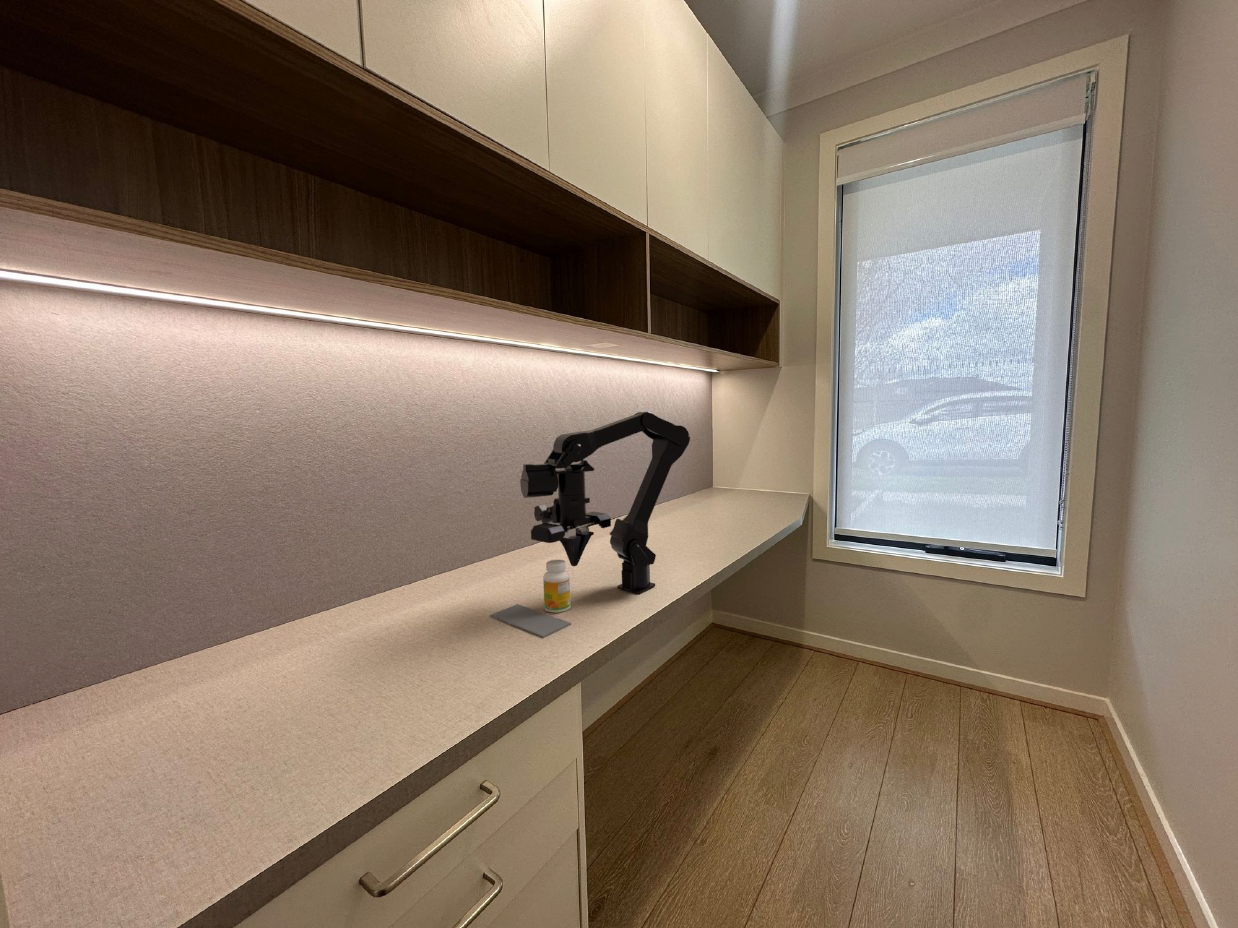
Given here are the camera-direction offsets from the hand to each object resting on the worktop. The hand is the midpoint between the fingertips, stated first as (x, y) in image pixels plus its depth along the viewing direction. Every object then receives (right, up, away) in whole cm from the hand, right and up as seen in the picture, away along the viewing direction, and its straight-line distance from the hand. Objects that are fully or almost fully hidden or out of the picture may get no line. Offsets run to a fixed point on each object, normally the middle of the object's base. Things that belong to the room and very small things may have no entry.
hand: (574, 565), depth 103 cm
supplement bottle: (-3, -8, -3) cm, 9 cm away
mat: (-8, -9, -9) cm, 15 cm away
